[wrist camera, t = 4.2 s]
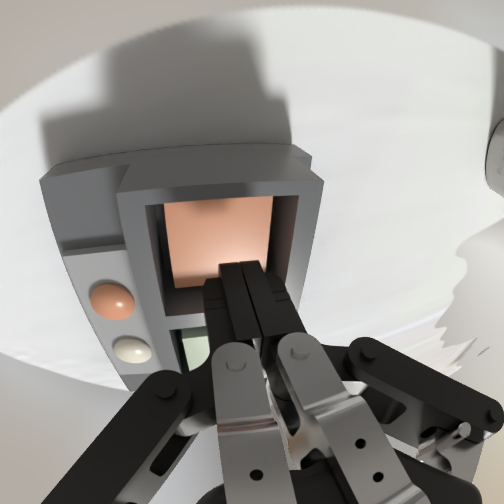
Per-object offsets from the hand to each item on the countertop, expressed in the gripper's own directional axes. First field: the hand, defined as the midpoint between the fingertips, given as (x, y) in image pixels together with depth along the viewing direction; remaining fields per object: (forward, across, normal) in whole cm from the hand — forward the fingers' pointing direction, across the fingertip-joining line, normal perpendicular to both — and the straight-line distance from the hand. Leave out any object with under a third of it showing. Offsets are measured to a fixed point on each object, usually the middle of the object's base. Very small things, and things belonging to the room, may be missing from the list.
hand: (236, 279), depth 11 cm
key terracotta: (+5, 0, 0) cm, 5 cm away
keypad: (+7, +2, +7) cm, 10 cm away
